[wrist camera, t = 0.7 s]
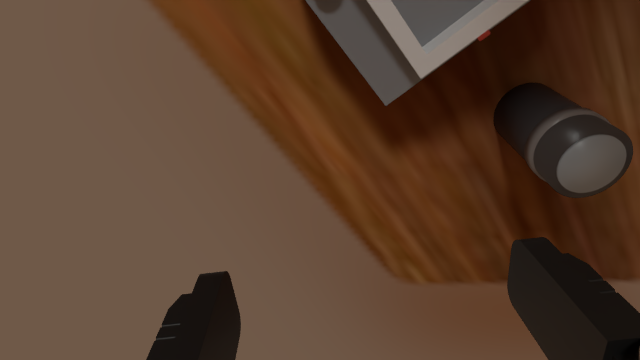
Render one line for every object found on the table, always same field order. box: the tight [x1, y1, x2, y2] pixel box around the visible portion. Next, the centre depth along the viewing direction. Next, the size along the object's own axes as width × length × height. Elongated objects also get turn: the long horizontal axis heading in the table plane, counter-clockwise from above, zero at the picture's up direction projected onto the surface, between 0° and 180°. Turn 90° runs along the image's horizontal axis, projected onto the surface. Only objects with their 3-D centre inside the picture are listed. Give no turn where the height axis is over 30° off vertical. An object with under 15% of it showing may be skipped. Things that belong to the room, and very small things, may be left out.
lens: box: [494, 83, 633, 198], centre depth 28 cm, size 5×5×9 cm
